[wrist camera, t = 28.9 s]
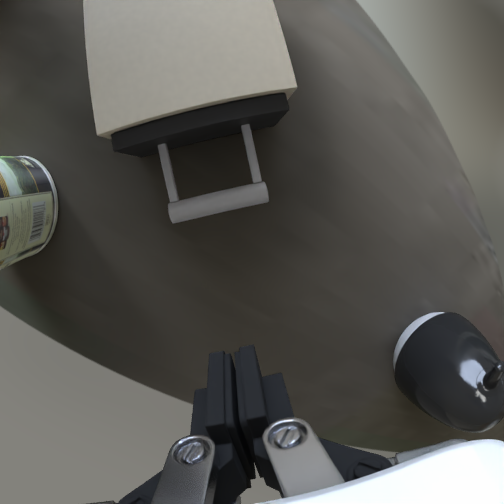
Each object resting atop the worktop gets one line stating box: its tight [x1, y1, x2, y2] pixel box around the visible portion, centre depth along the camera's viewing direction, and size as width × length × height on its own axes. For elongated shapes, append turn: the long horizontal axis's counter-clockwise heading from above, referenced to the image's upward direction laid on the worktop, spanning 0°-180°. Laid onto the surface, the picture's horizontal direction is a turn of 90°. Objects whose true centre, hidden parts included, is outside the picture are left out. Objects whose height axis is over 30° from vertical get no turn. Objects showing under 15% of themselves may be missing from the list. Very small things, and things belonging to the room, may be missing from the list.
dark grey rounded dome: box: [393, 312, 504, 433], centre depth 25 cm, size 10×10×15 cm
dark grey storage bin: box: [111, 93, 289, 223], centre depth 21 cm, size 19×11×7 cm, turn 12°
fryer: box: [83, 0, 297, 139], centre depth 20 cm, size 15×13×9 cm
